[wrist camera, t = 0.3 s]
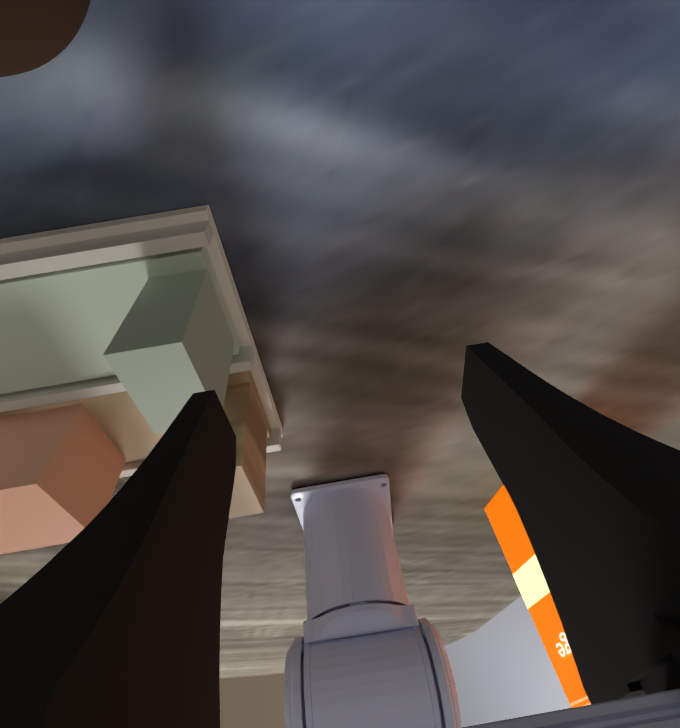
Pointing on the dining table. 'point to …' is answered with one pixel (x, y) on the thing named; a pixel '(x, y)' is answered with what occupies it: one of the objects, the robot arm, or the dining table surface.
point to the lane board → (122, 244)
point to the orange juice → (535, 593)
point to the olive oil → (36, 31)
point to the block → (53, 476)
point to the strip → (122, 330)
